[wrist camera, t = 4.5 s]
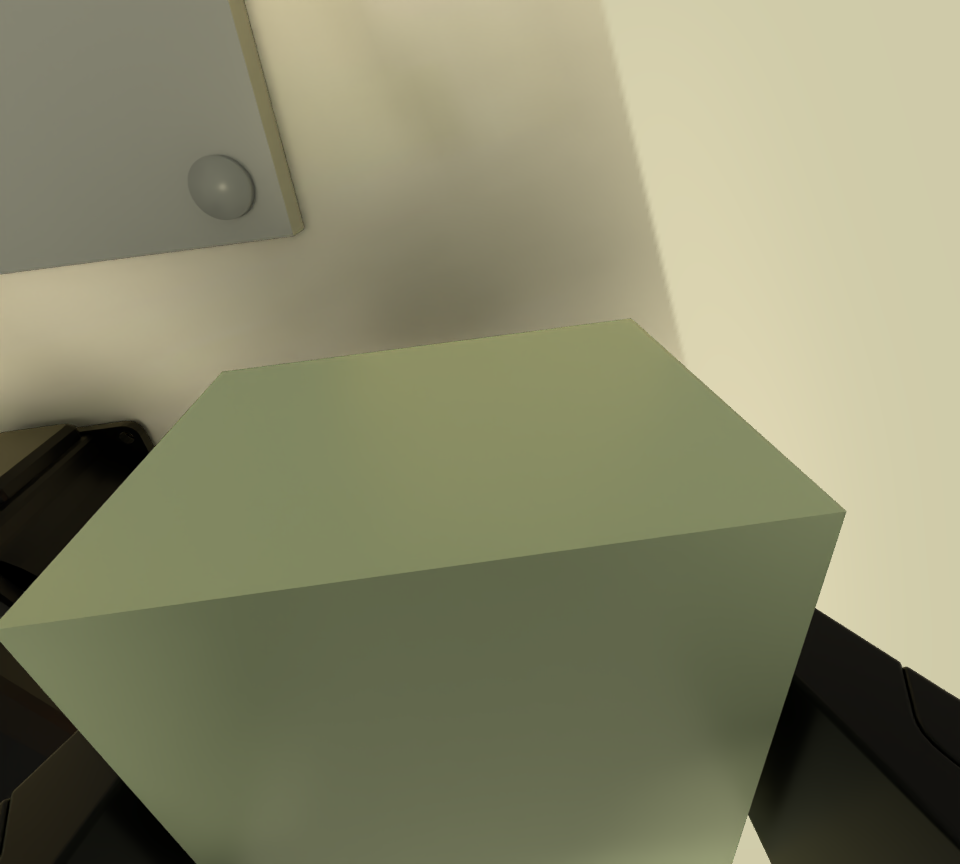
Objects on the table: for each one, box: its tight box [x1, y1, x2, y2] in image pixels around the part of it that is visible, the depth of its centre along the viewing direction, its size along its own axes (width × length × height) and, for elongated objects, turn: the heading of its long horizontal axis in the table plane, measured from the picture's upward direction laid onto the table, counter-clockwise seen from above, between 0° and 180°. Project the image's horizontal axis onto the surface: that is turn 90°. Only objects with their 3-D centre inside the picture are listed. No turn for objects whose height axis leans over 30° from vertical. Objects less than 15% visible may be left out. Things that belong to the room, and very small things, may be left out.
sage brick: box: [0, 318, 846, 864], centre depth 7 cm, size 6×6×4 cm
